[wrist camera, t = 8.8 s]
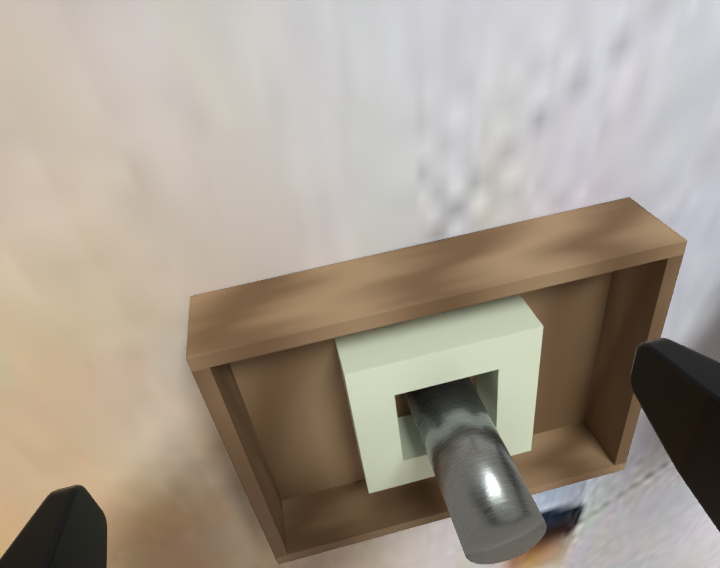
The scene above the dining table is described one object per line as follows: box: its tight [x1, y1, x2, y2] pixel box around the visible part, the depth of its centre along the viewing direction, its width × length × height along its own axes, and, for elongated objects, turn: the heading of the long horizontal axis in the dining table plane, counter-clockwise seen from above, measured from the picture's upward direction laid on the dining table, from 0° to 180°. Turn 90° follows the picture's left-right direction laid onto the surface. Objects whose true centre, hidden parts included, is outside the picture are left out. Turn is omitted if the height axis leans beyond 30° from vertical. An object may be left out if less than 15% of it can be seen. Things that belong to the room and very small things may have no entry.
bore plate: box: [335, 294, 543, 494], centre depth 24 cm, size 8×8×2 cm
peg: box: [404, 377, 547, 564], centre depth 22 cm, size 3×3×8 cm
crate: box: [186, 197, 687, 564], centre depth 24 cm, size 18×14×4 cm
